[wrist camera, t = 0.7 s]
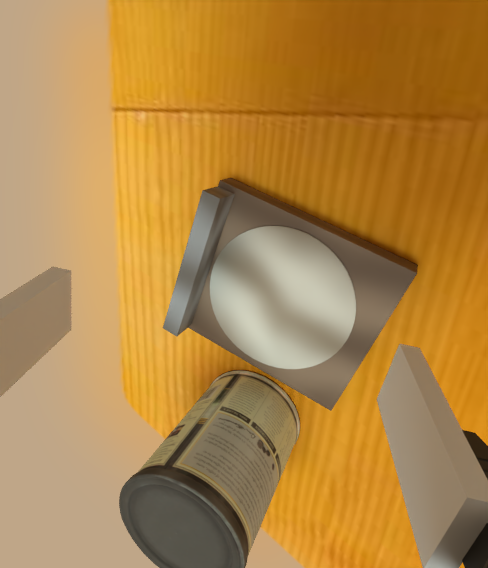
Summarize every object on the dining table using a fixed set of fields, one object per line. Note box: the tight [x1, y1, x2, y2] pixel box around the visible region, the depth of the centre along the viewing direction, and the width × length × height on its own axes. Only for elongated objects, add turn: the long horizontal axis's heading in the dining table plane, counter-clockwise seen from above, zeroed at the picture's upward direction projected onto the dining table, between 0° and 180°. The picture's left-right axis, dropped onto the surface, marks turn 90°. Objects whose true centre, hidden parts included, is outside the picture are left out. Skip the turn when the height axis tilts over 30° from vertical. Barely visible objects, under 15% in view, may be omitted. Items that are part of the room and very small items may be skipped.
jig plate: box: [163, 178, 418, 410], centre depth 32 cm, size 14×16×4 cm
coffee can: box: [119, 370, 300, 568], centre depth 34 cm, size 10×10×14 cm
